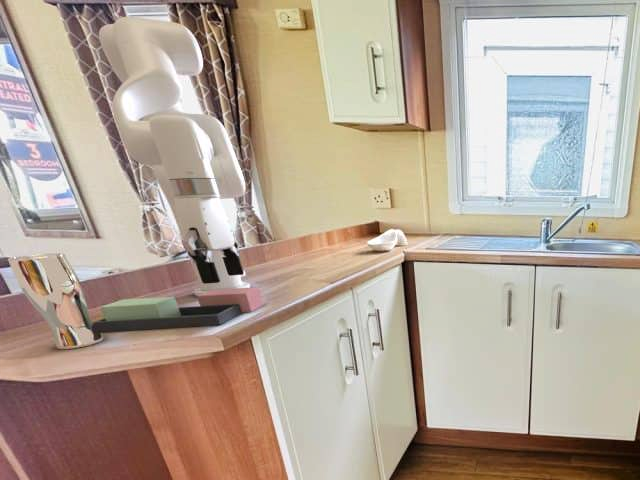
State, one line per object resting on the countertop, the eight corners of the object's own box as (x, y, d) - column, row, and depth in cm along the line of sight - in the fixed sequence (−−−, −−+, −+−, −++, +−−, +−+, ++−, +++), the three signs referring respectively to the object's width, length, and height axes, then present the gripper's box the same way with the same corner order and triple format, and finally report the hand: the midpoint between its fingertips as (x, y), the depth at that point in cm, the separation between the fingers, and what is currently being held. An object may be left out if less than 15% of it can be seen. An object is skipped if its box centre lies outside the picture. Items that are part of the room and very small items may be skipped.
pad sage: (131, 318, 87) (122, 299, 85) (181, 315, 88) (174, 296, 86) (108, 327, 82) (99, 307, 80) (162, 324, 82) (154, 303, 81)
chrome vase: (102, 334, 79) (63, 251, 73) (110, 341, 75) (69, 254, 68) (51, 345, 74) (3, 257, 68) (56, 353, 70) (6, 261, 64)
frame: (130, 319, 88) (125, 310, 87) (242, 313, 90) (239, 303, 89) (96, 332, 80) (92, 322, 80) (220, 325, 82) (216, 315, 81)
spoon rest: (389, 252, 167) (386, 233, 164) (362, 252, 170) (359, 234, 166) (414, 244, 188) (412, 227, 185) (390, 245, 190) (388, 228, 187)
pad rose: (218, 307, 95) (212, 289, 93) (263, 304, 96) (258, 287, 94) (203, 314, 90) (196, 296, 88) (251, 311, 90) (245, 293, 89)
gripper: (201, 192, 90) (227, 273, 97) (144, 190, 74) (180, 287, 81) (237, 190, 90) (261, 271, 97) (188, 188, 75) (220, 285, 82)
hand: (224, 278), depth 89 cm, fingers open, 9 cm apart
